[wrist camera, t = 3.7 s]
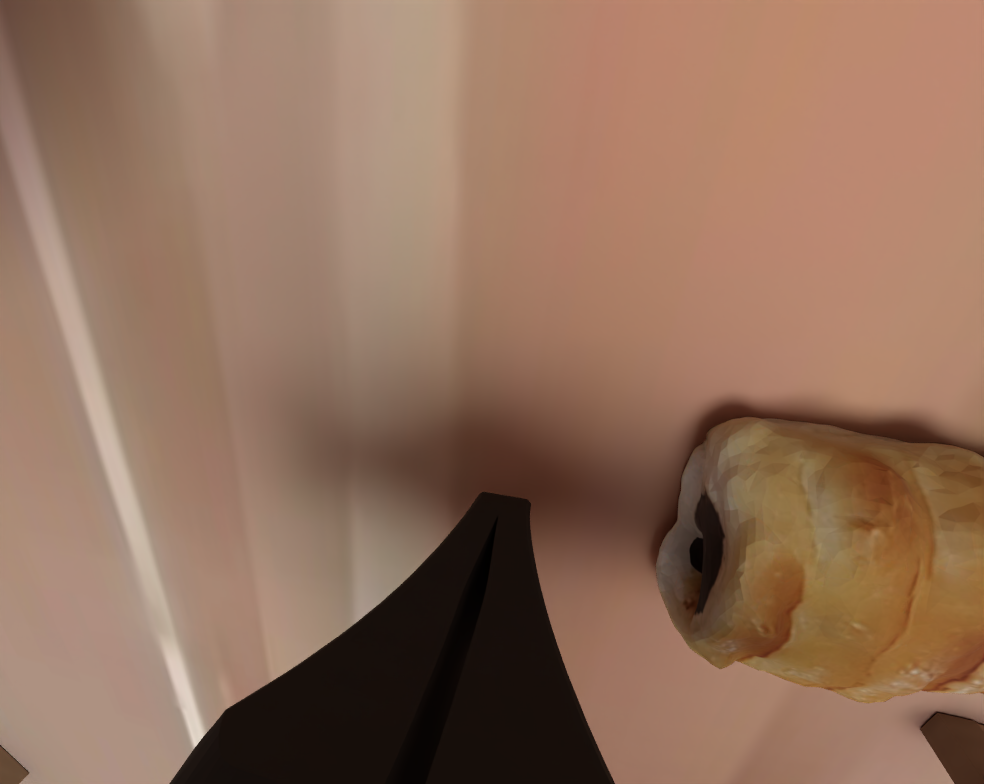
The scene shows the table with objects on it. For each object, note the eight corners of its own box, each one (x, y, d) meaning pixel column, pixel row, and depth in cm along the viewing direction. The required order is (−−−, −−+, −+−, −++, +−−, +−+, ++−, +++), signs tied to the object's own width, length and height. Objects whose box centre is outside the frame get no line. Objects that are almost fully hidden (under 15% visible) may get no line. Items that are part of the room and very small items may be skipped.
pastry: (1189, 440, 8) (1635, 619, 5) (993, 643, 11) (1174, 840, 8) (691, 392, 10) (749, 498, 6) (640, 580, 13) (661, 719, 9)
